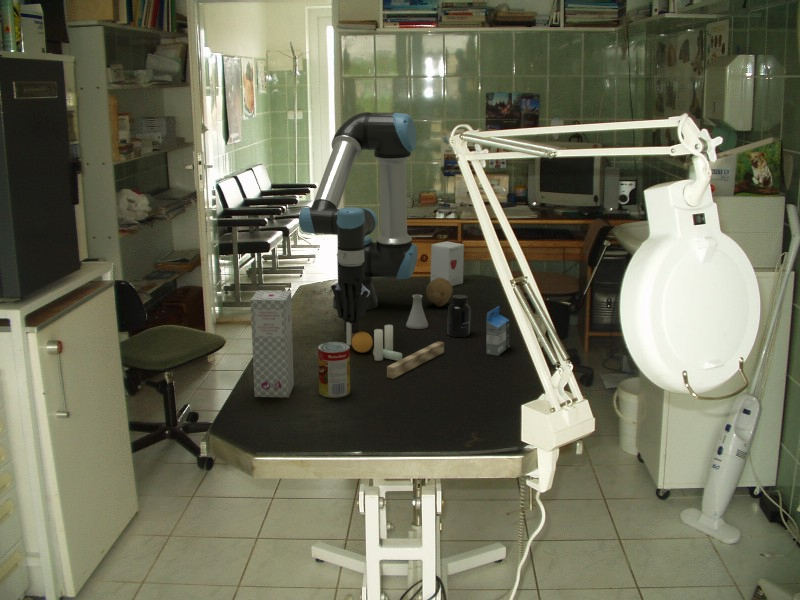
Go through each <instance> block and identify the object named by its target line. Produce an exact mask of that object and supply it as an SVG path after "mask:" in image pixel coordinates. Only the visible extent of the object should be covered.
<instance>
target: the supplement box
mask: <svg viewBox="0 0 800 600" xmlns="http://www.w3.org/2000/svg"><path fill="white" fill-rule="evenodd" d="M430 248H431V249H430V251H431V253H430V282H431V281H432V280H434V279H436V278H443V279H446V280H448V281H449V283H450V284H451V285H452V287H454V286H457V285H461V284H463V283H464V262H465V261H464V257H465V256H464V255H465V254H464V253H465V244H463V243H457V242H453V241H442V242H437V243H433V244H431V247H430Z"/></svg>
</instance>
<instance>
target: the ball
mask: <svg viewBox="0 0 800 600" xmlns="http://www.w3.org/2000/svg"><path fill="white" fill-rule="evenodd" d="M373 340H374V339H373V337H372V336H371V335H370V334H369V333H368V332H366V331H358V333H356V334H355V335H354V336H353V338H352V345H351V346H352V348H353V350H355V352H358V353H367V352H369V351H370V350H371V348H372V347H373V345H374V344H373V343H374V341H373Z"/></svg>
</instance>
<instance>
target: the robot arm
mask: <svg viewBox="0 0 800 600" xmlns="http://www.w3.org/2000/svg"><path fill="white" fill-rule="evenodd" d="M417 140H418V139H417V128H416V125H415V122H414V118H413V117H412V116H411V115H410V114H408V113H401V112H369V111H367V112H366V111H365V112H359V113H356V114H354V115H352V116H351V117H349V118H348V119H347V120H346V121H344V122H343V124H341V126H340V127H339V128H338V129H337V131H336V132H335V134H334V135H333V138H332V141H331V149H332V150H331V154H330V157H329V159H328V161H327V163H326V167H325V170H324V172H323V175H322V178H321V181H320V183H319V185H318V188H317V191H316V194H315V197H314V200H313V203H312V204H311V207H310V206H308V207H303V208H302V209H301V210H300V212H299V216H298V225H299V228H300V230H301V231H302V233H306V234H314V235H318V234H319V235H336V237H337V253H336V259H337V261H336V262H337V283H334V284H331V286H330V289H331V291H332V293H333V298H332V306H333V308H334V309H336V310H337V316H338V318H339V319H342V320H343V322H344V332H346V344H348V345H349V346H352V338H353V336H354V335H355V334H356V333H358V332H359V323H360V322H361V321H364V320H365V317H366V312H367V311H369V310H370V311H371V310H373V309H376V308H377V307H378V302H379V301H378V297H377V293H376V291H375V287H374V285H373V278H380V279H381V278H382V279H393V280H407V279H410V278H411V277H412V276H413V274H414V271H415V269H416V266H417V260H418V253H419V251H418V250H419V249H418V246H417V244H415V243H413V238H412V237H411V236H410V235H409V234H408V214H407V213H408V210H407V209H408V208H407V207H408V205H407V204H408V203H407V202H408V200H407V198H408V196H407V193H408V192H407V191H408V190H407V161H408V160H409V159H410V158H411V155H412V152H414V151H415V150H416V149H417ZM365 150H367V151H368V150H369V151H373V152H374V158H375V159H376V160H377V162H378V164H379V165H378V166H379V198H380V200H379V204H380V205H379V206H380V207H379V208H380V235H379V236H377V238H376V242H374V241H373V240H374V239H373V238H372V237H371V236H369V235H370V234H372V233H373V232H374V231H375V230H376V228H377V226H378V223H379V220H378V216H377V214H376V213H375V211H373V209H371V208H366V207H361V208H360V207H354V206H353V207H348V206H347V207H342V208H339V206H340V203H341V201H342V197H343V194H344V192H345V189H346V186H347V183H348V181H349V178H350V176H351V175H350V174H351V172H352V170H353V166H354V164H355V161H356V158H358V157H359V156H360V155H361V154H362V151H365Z"/></svg>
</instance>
